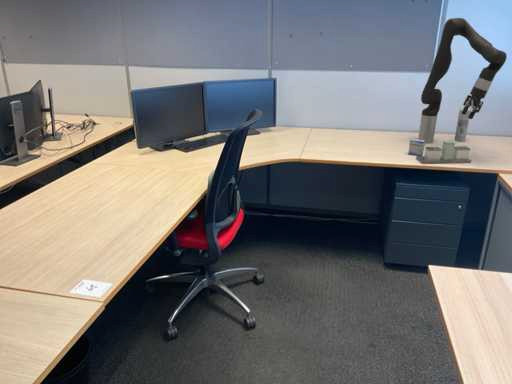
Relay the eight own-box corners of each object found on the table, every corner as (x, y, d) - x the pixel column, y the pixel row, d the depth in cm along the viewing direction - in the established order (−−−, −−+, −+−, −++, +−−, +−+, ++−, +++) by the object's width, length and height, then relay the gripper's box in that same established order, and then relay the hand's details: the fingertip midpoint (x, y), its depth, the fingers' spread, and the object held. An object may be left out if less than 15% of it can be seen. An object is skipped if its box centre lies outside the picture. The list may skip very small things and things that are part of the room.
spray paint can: (464, 139, 279) (469, 108, 272) (466, 142, 273) (471, 110, 266) (453, 138, 281) (458, 108, 273) (455, 141, 275) (460, 110, 267)
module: (440, 157, 239) (443, 141, 236) (448, 157, 240) (451, 141, 236) (444, 159, 236) (446, 143, 232) (452, 159, 236) (455, 143, 232)
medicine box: (407, 154, 250) (409, 140, 246) (409, 152, 253) (411, 138, 250) (422, 156, 246) (424, 141, 243) (423, 154, 250) (425, 139, 247)
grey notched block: (416, 158, 242) (417, 146, 239) (462, 158, 243) (465, 145, 240) (422, 163, 234) (424, 150, 231) (470, 163, 234) (473, 149, 232)
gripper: (468, 83, 234) (454, 111, 241) (480, 89, 221) (466, 118, 228) (481, 86, 235) (467, 114, 242) (493, 92, 222) (478, 122, 229)
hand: (466, 116), depth 235 cm, fingers open, 8 cm apart
